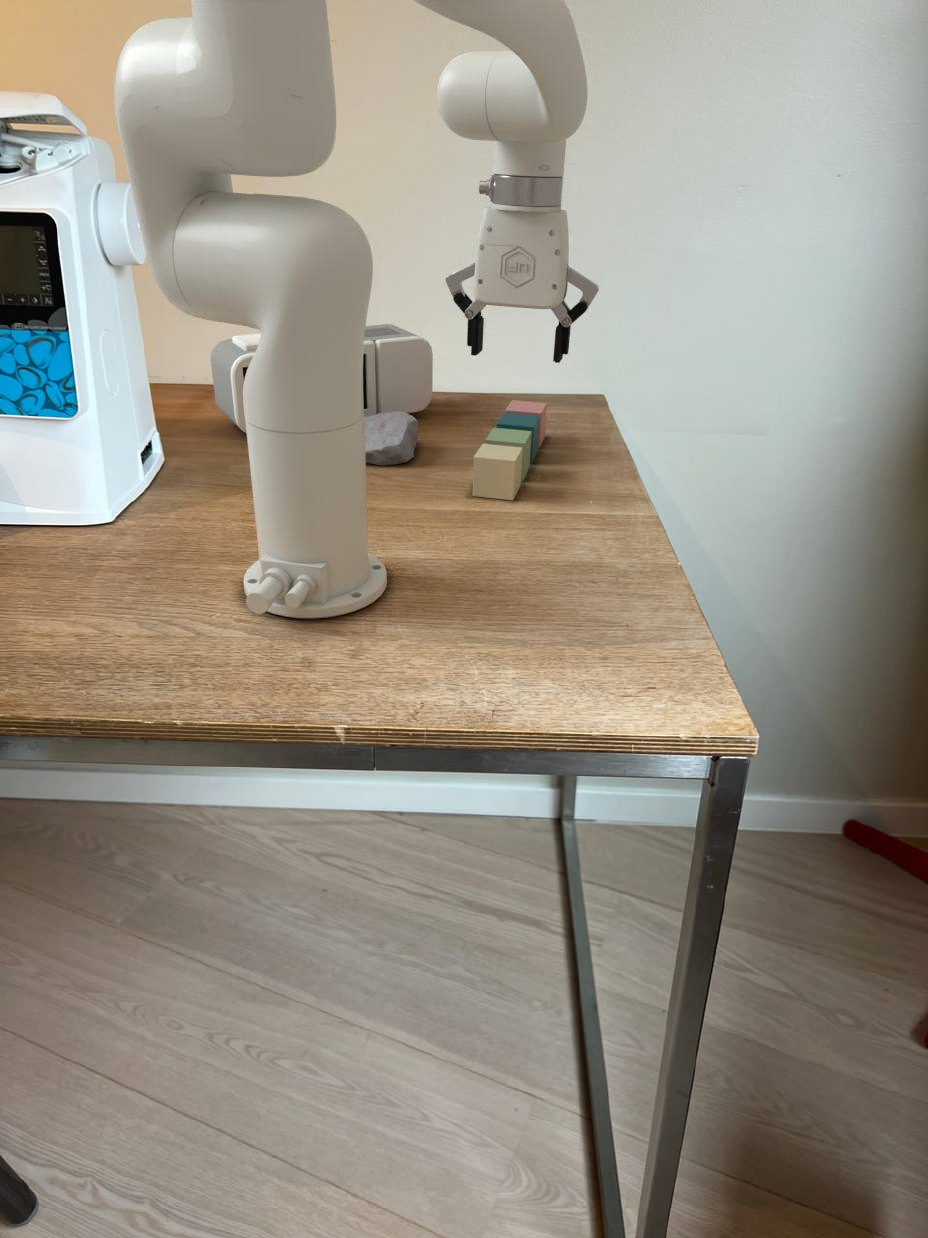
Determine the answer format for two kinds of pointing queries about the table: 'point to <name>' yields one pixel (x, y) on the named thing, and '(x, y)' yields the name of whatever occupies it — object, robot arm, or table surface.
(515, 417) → the teal block
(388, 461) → the stone block
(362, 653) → the table surface
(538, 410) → the rose block
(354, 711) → the table surface
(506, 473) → the cream block
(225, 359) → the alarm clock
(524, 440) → the sage block
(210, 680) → the table surface
